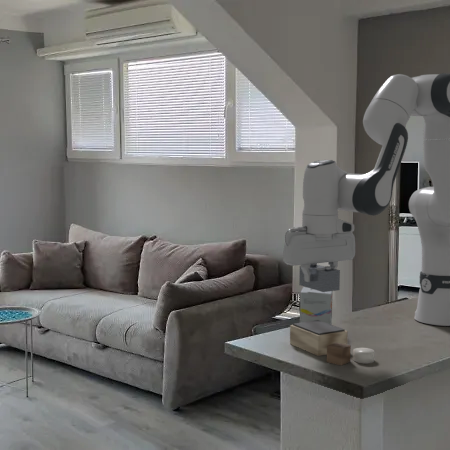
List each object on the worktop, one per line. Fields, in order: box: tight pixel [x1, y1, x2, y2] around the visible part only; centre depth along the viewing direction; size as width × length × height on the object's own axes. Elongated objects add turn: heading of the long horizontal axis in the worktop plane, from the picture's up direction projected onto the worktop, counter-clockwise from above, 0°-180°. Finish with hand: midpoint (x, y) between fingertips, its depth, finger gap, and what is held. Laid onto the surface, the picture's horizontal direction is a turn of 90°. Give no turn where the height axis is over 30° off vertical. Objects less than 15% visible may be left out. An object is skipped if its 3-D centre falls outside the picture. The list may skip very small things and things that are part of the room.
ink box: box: [299, 286, 334, 325], centre depth 192 cm, size 9×9×12 cm
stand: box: [289, 320, 348, 357], centre depth 176 cm, size 9×12×5 cm
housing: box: [298, 263, 341, 292], centre depth 175 cm, size 10×5×6 cm, turn 29°
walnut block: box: [326, 343, 352, 366], centre depth 165 cm, size 4×4×4 cm
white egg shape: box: [352, 347, 375, 365], centre depth 166 cm, size 5×5×2 cm
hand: (319, 280), depth 175 cm, fingers closed on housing, 5 cm apart
